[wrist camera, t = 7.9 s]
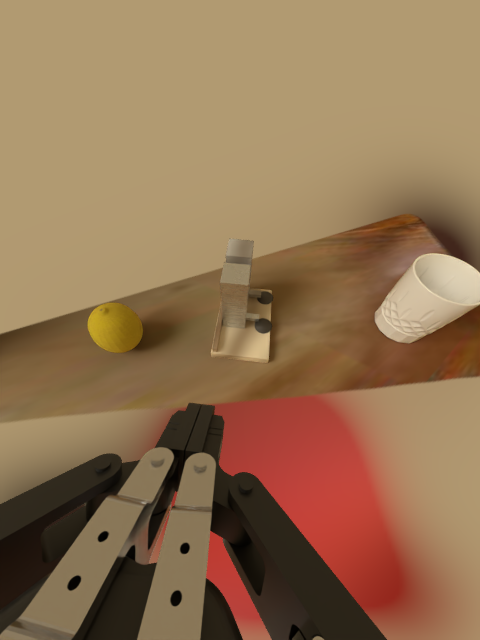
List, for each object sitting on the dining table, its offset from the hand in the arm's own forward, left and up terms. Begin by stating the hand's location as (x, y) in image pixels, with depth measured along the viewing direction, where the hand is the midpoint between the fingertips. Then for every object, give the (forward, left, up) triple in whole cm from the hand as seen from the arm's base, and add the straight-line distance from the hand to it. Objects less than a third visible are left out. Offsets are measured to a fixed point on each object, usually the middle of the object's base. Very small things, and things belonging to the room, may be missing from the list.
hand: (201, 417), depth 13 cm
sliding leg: (0, +15, -13) cm, 20 cm away
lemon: (-14, +10, -14) cm, 22 cm away
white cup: (+24, +18, -14) cm, 34 cm away
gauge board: (+1, +16, -14) cm, 21 cm away
